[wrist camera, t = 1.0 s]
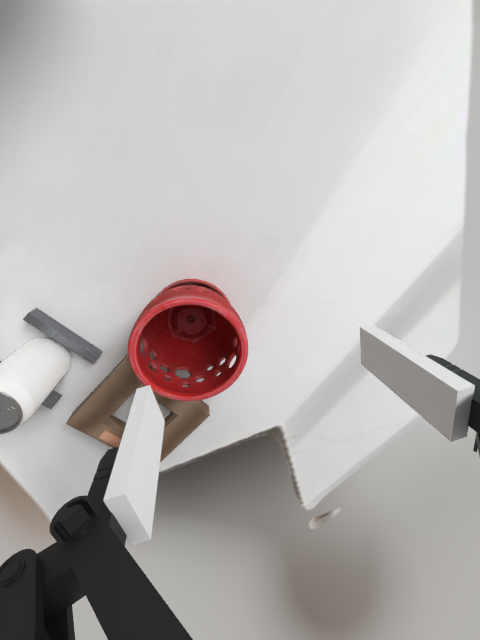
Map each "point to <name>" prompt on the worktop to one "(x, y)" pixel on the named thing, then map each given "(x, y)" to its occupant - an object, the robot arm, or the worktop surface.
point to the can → (29, 379)
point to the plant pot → (188, 341)
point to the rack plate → (114, 391)
